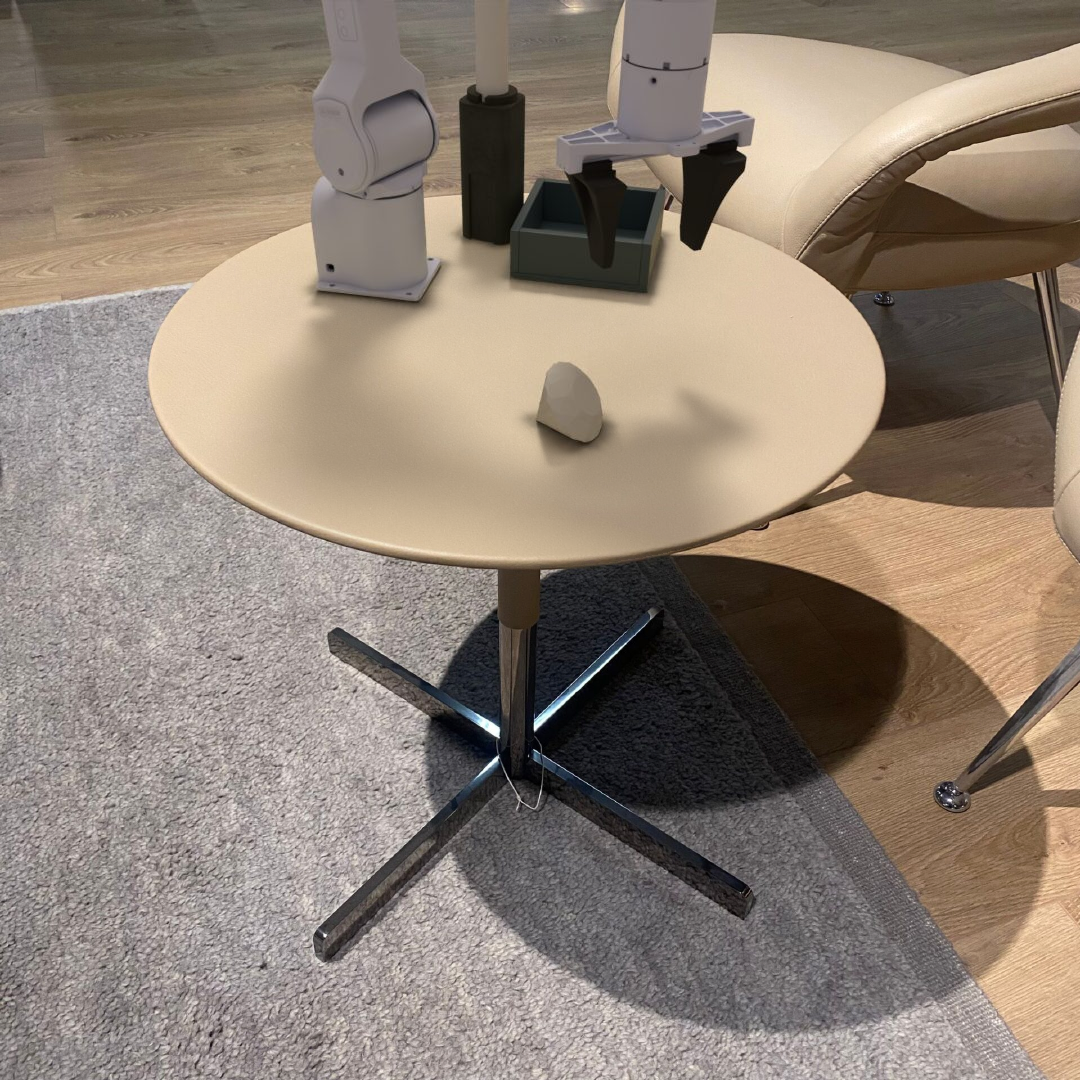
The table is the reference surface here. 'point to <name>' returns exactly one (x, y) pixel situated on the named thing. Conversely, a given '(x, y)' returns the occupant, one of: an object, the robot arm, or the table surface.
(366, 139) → the robot arm
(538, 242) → the bin
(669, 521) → the table surface
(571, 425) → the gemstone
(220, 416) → the table surface
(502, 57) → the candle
